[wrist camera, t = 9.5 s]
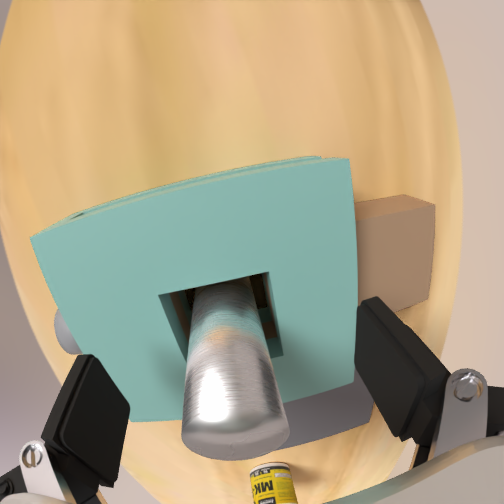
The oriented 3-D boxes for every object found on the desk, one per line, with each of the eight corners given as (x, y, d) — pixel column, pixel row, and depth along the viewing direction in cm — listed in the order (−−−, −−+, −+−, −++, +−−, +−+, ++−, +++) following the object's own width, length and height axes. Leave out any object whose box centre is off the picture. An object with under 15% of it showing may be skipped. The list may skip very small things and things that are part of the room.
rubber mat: (380, 336, 19) (384, 341, 18) (366, 418, 23) (369, 422, 23) (226, 378, 18) (226, 384, 18) (255, 449, 23) (256, 454, 22)
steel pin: (224, 246, 15) (239, 393, 6) (260, 282, 16) (309, 432, 7) (185, 281, 15) (159, 436, 6) (222, 313, 16) (233, 467, 7)
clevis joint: (400, 147, 14) (451, 151, 10) (399, 313, 18) (432, 348, 14) (49, 223, 13) (5, 248, 9) (119, 376, 17) (105, 421, 13)
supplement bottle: (265, 459, 24) (278, 521, 16) (296, 463, 25) (312, 519, 17) (241, 473, 25) (249, 530, 17) (271, 477, 26) (282, 529, 18)
